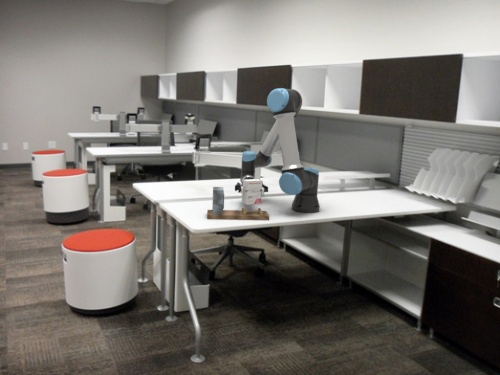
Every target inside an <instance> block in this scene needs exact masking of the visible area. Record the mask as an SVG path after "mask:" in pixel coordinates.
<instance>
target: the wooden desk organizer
mask: <svg viewBox="0 0 500 375" xmlns="http://www.w3.org/2000/svg"><path fill="white" fill-rule="evenodd" d="M206 213H207V214H206V216H207V218H206V219H207V220H237V221H238V220H239V221H240V220H242V221H245V220H247V221H249V220H252V221H270V215H269V213H268V211H267V210H262V208H261V207H257V210H246V208H245V207H241V209H237V210H235V209H233V210H232V209H225V190H224V187H223V186H212V209H207V212H206Z"/></svg>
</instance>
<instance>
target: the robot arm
mask: <svg viewBox="0 0 500 375" xmlns="http://www.w3.org/2000/svg"><path fill="white" fill-rule="evenodd" d="M266 99H267V100H266V104H267V105H266V106H267V107H268V110H270V111H271V112H272V117H273V118H274V119H275V122H274V123H273V126H272V127H271V129H270V131H269V133H268V134H267V137H266V138H265V140H264V142H263V144H262V145H261V148H260V149H259V151H258V152H257V153H256V151H251V150H249V151H247V150H246V151H245V150H244V151H243V152H242V154H241V168H240V169H241V173H240V180H239V181H240V182H236V184H235V185H234V191H235V192H238V193H241V195H242V194H243V180H250V179H256V176H255V175H256V169H258V168H264V167H268V166H269V165H271V163H272V159H273V158H272V156H273V155H274V152H275V151H276V149H277V147H278V145H279V144H280V149H281V157H282V163H283V166H282V168H281V170H280V171H281V175H280V177H279V180H278V184H279V185H278V186H279V188H280V190H281V191H282V192H283V193H284V194H286V195H289V196H294V197H293V200H292V203H291V211H295V212H299V213H319V212H320V209H321V208H320V203H319V199H318V198H319V197H318V191H319V177H320V173H319V169H318V168H314V167H305V166H304V165H302V164H301V160H300V154H299V153H300V152H299V147H298V146H299V145H298V140H297V133H296V126H295V119H297V117H298V115H299V113H300V111H301V109H302V105H303V97H302V95H301V93H300V92H299V91H297V90H296V89H293V88H292V89H291V88H283V87H280V88H279V87H278V88H274V89H273V90H271V91H270V93H269V94H268V96H267V98H266ZM268 192H269V186H267V185H266V184H264V183H263V182H262V193H261V196H264V195H265V193H268Z"/></svg>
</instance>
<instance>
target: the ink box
mask: <svg viewBox="0 0 500 375" xmlns="http://www.w3.org/2000/svg"><path fill="white" fill-rule="evenodd" d="M262 183H263V180H261V179H258V178H257V179H256V178H255V179H250V180H243V194H241V203H242V204H244V205H246V206H247V205H260V204H261V203H262Z"/></svg>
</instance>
